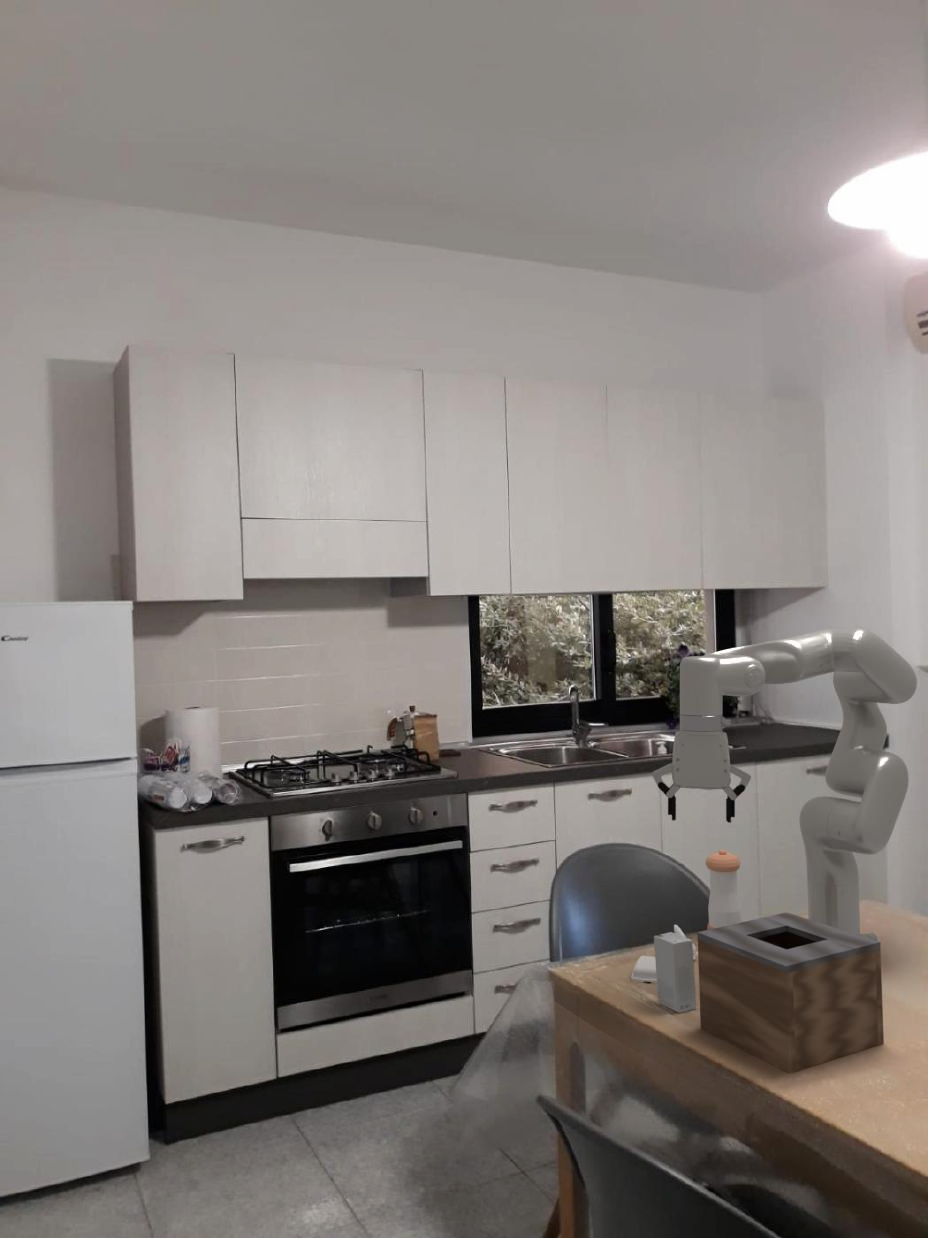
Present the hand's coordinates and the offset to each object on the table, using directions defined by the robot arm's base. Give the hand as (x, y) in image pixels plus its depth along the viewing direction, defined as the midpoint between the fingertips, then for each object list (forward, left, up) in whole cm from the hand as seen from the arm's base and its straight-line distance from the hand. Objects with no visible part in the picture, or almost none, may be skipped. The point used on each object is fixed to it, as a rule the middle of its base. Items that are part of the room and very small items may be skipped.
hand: (701, 820), depth 189 cm
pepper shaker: (-23, -21, -32) cm, 44 cm away
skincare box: (+8, +1, -32) cm, 33 cm away
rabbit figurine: (-9, -19, -32) cm, 38 cm away
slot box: (+1, +21, -32) cm, 38 cm away
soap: (+2, -14, -32) cm, 35 cm away
